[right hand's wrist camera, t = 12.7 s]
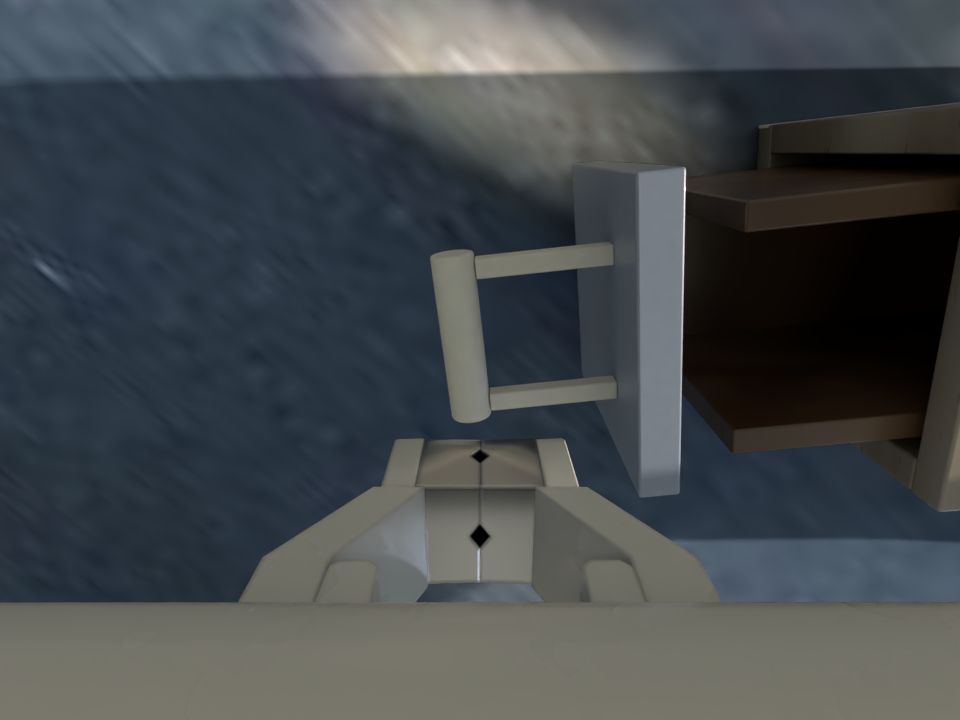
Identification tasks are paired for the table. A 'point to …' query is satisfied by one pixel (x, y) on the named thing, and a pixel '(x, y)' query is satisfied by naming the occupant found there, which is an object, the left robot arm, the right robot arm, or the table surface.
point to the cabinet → (956, 380)
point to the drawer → (734, 305)
